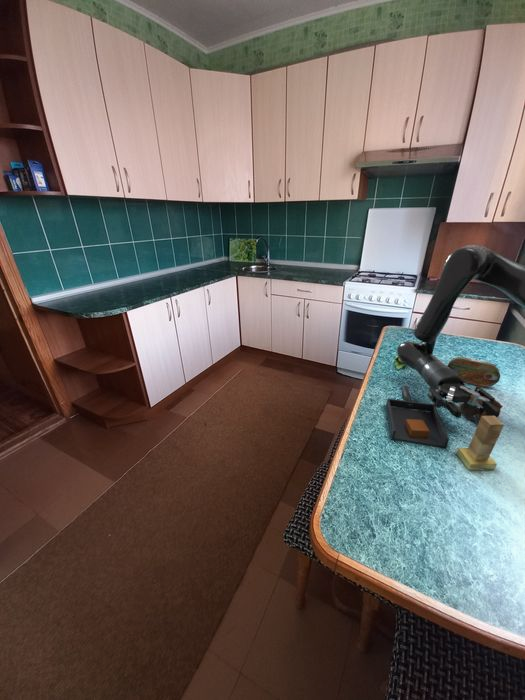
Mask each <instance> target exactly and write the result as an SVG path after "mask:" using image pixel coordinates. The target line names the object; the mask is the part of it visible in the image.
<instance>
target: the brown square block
mask: <svg viewBox="0 0 525 700" xmlns="http://www.w3.org/2000/svg"><path fill="white" fill-rule="evenodd" d="M405 427H406V429H407V431H408V433H409V435H410V437H422V438H428V434H429V429H428V428H427V426H426V424H425V423H424V421H423V420H412V419H406V423H405Z"/></svg>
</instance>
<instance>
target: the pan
mask: <svg viewBox="0 0 525 700" xmlns="http://www.w3.org/2000/svg"><path fill="white" fill-rule="evenodd" d="M400 389H401V391H402V395H403V398H404V400H403V399H396V398H389V397H388V398H386V402H385V403H386V404H385V411H386V416H387V421H388V422H387V423H388V429H389V432H390V439H391V440H392V441H399V442H405V443H410V444H411V443H412V444H417V445H424V446H430V447H436V448H441V449H447V447H448V445H449V442H450V437H449V435H448V433H447V430H446V427H445V425H444V423H443V420H442V418H441V415H440V413H439V411H438V409H437V407H436V406H435V405H434V404H433V403H426V402H419V401H413V398H412V396H411V392H410V388H409V386H408V385H407V384H403V385H402V386H401V388H400ZM406 419H412V420H423V421H424V423H425V424H426V426H427V428H428V429H429V434H428V438H422V437H410V435H409V433H408V431H407V429H406V427H405V423H406Z"/></svg>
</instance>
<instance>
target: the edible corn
mask: <svg viewBox="0 0 525 700" xmlns="http://www.w3.org/2000/svg"><path fill="white" fill-rule="evenodd" d="M393 365H394V366H396V369H397V370H400V369H401V368H403V367H406V366H407V365H406V364H404V363H403V362H402V361H401V360H400V359H399V357H398V354H396V356H395V357H394V363H393Z"/></svg>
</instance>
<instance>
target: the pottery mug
mask: <svg viewBox="0 0 525 700" xmlns="http://www.w3.org/2000/svg"><path fill="white" fill-rule="evenodd" d="M473 399H474V396H473V395H471V398H470V400H471V401H473ZM487 399H488V398H487ZM478 402H479V403H482V401H480V400H479V399H478ZM493 406H494V407H495V408H497V409H498V415H497V418H499V416H500V414H501V409H503V405H502V404H501V403H500V402H499V401H497V400H496V399H495V400H494V402H493ZM458 407H459V408H460V409H461V410H462V415H461V416H464V417H465V418H466V419H467V420H469V421H471V420H472V418H474V419H475V420H476V421H477V422H479V421H480V419H481V416H490V415H488V414H487V413H486V412H485V411H484V410H483V408H481V407H478V406H476V405H475V406H472V405H470V404H468V403H462V402H460V403H458Z"/></svg>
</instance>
